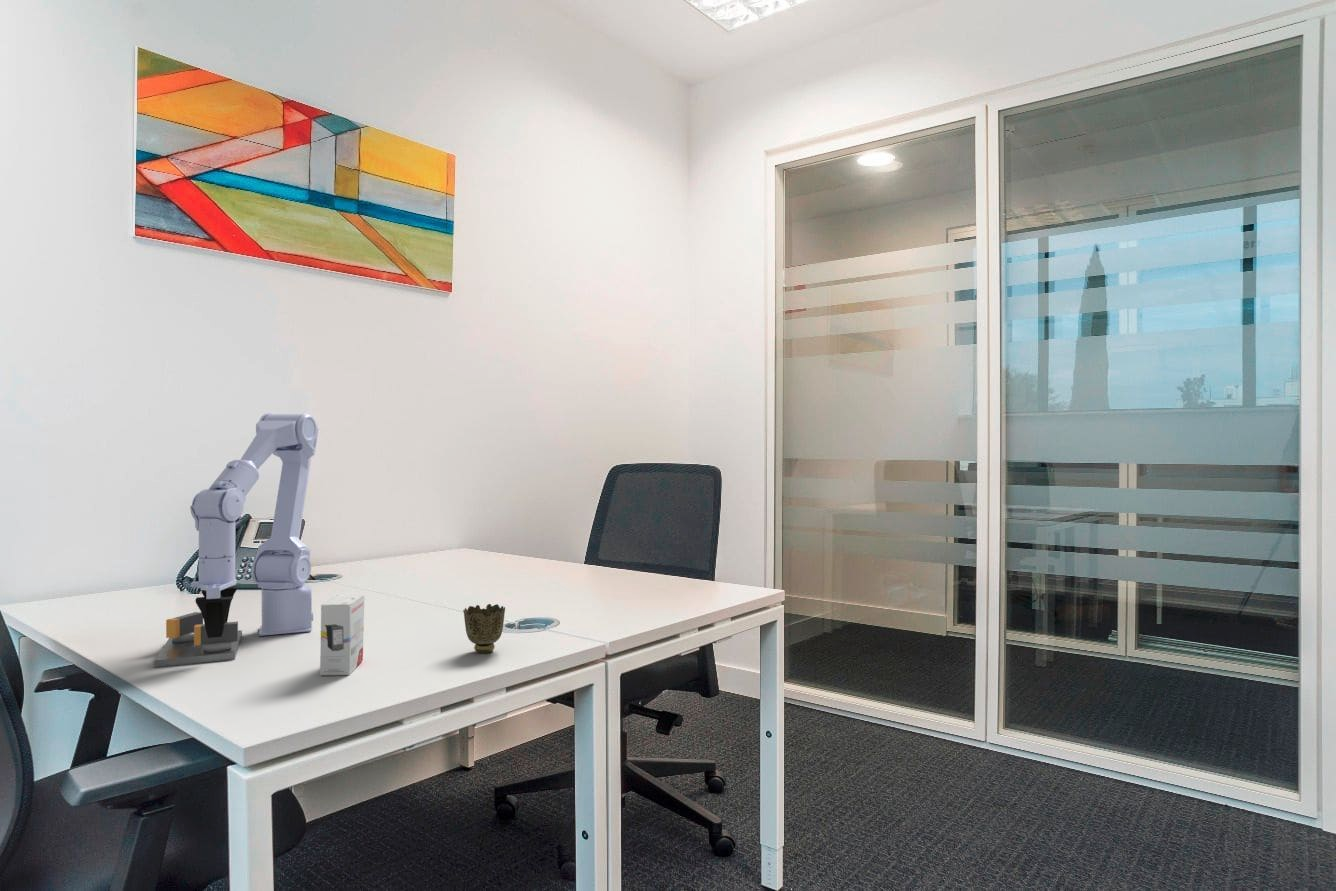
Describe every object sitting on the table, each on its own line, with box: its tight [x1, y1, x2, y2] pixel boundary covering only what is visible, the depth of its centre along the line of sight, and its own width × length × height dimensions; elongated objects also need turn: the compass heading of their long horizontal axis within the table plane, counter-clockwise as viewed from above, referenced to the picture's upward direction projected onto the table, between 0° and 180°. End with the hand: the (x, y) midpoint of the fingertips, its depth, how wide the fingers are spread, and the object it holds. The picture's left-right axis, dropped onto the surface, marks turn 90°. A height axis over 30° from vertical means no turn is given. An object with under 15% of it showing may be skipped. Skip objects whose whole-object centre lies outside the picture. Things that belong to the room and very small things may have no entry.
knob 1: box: [165, 611, 204, 642], centre depth 148 cm, size 7×4×4 cm, turn 169°
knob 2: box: [194, 621, 239, 652], centre depth 141 cm, size 7×4×4 cm, turn 115°
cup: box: [462, 603, 506, 654], centre depth 144 cm, size 8×7×8 cm
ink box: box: [319, 594, 366, 676], centre depth 133 cm, size 9×5×12 cm, turn 6°
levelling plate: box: [153, 629, 243, 668], centre depth 145 cm, size 12×18×3 cm, turn 25°
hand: (217, 632), depth 141 cm, fingers open, 7 cm apart
